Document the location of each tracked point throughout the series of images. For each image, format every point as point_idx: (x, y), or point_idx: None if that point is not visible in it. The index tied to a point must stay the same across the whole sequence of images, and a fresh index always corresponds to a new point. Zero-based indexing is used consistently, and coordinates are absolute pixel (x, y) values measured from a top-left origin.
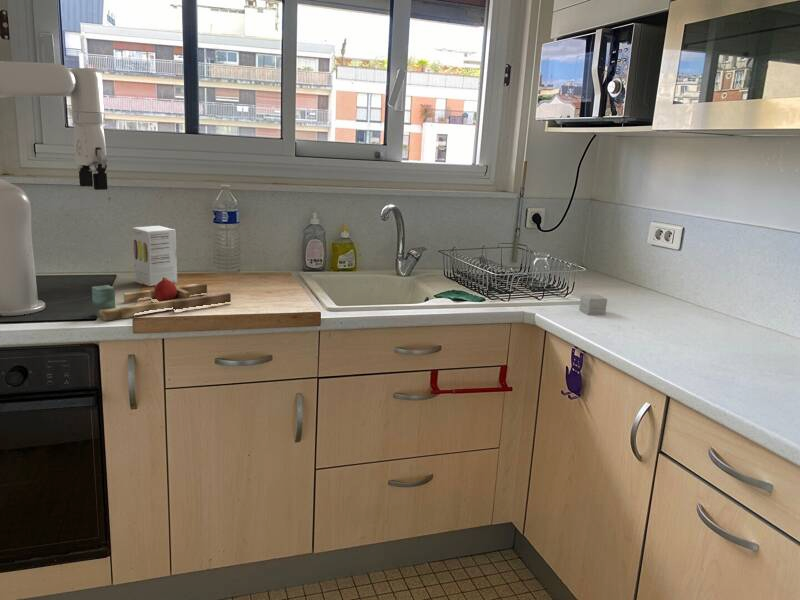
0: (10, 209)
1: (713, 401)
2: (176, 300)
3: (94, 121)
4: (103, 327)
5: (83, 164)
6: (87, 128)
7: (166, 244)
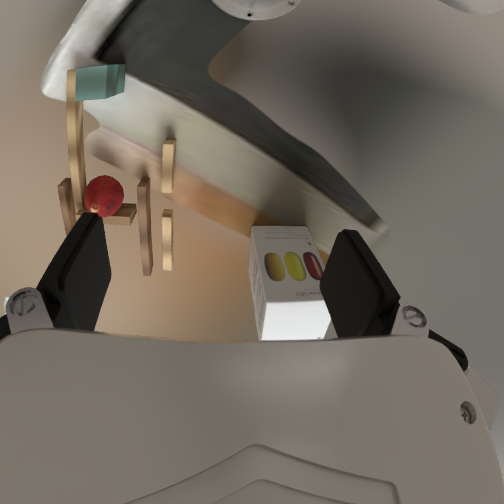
0: None
1: None
2: (74, 194)
3: None
4: (53, 59)
5: (148, 337)
6: None
7: (257, 308)
